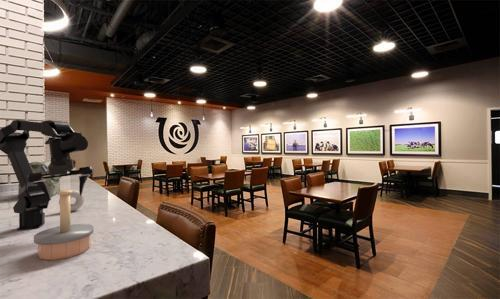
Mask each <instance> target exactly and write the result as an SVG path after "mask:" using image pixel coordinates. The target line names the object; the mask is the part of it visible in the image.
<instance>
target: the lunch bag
mask: <svg viewBox="0 0 500 299" xmlns="http://www.w3.org/2000/svg"><path fill="white" fill-rule="evenodd" d="M50 163H51V160H43V161H42V160H41V161H32V162H29V164H30V166H31V169H32V171H33V173H41V172H43V173H46V174H48V173H49V170H48V166H49V164H50ZM61 179H62V177H56V178H48V179H46V180H45V181H48V184H49V189H50V195H51V197H53V196H55V195H56V194H58V191H61V186H60V185H61V184H60V183H61V182H60V181H61ZM20 189H21V187H20V184H19V183H18V194H19V192H20Z"/></svg>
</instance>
